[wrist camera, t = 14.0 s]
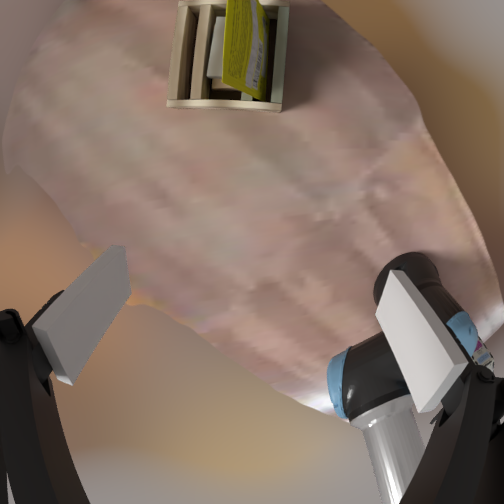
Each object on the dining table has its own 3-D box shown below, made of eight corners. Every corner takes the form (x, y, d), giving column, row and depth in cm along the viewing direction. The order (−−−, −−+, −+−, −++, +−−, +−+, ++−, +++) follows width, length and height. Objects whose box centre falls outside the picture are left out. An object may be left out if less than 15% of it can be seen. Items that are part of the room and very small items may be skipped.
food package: (266, 20, 33) (227, -39, 16) (273, 20, 33) (238, -41, 15) (262, 103, 40) (217, 82, 22) (269, 103, 40) (228, 82, 22)
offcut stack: (248, 27, 34) (246, 14, 28) (242, 92, 39) (239, 87, 34) (218, 27, 34) (212, 14, 28) (212, 91, 39) (204, 86, 34)
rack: (286, 15, 33) (289, 1, 27) (278, 113, 40) (281, 110, 35) (188, 14, 33) (179, 1, 27) (178, 109, 40) (166, 106, 35)
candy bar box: (451, 328, 58) (479, 370, 43) (465, 317, 56) (495, 357, 41) (456, 349, 61) (479, 388, 46) (469, 339, 60) (494, 377, 45)
